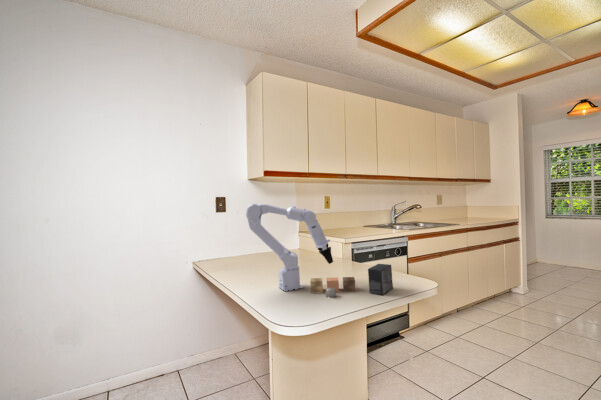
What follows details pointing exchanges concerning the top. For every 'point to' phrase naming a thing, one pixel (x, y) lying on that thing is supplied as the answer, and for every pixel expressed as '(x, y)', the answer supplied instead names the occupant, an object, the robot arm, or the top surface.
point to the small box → (380, 279)
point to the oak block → (316, 285)
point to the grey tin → (330, 292)
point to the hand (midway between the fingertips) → (330, 261)
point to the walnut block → (349, 284)
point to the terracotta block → (333, 283)
